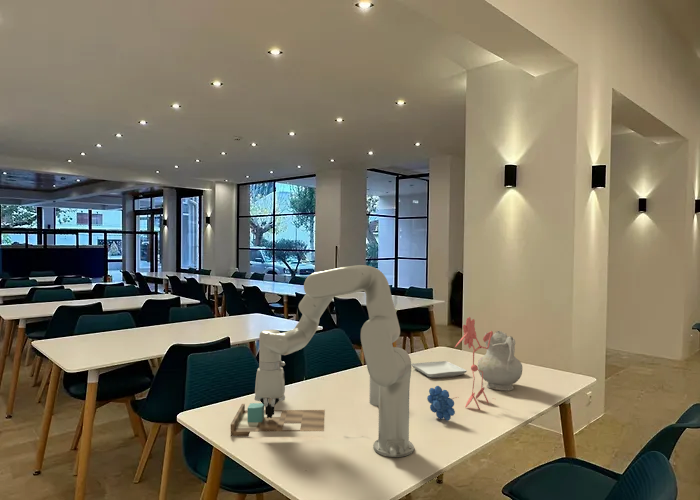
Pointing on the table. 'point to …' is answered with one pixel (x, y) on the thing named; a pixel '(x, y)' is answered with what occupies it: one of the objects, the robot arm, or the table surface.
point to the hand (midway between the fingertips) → (269, 416)
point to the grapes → (441, 403)
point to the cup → (374, 393)
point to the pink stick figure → (469, 336)
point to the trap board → (277, 421)
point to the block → (255, 412)
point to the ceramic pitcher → (500, 363)
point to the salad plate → (439, 369)
